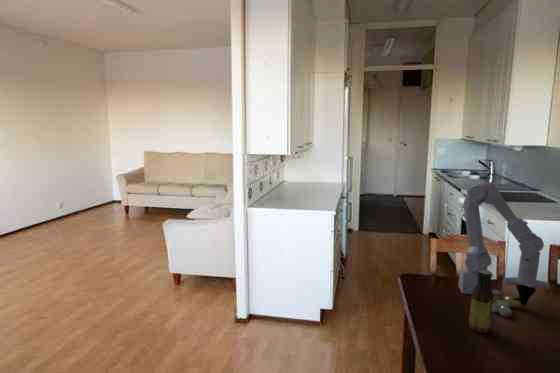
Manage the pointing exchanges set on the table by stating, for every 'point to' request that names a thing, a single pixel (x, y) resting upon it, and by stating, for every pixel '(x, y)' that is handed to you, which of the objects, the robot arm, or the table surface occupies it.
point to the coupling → (512, 301)
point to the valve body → (500, 304)
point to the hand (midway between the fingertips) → (522, 304)
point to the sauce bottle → (481, 303)
